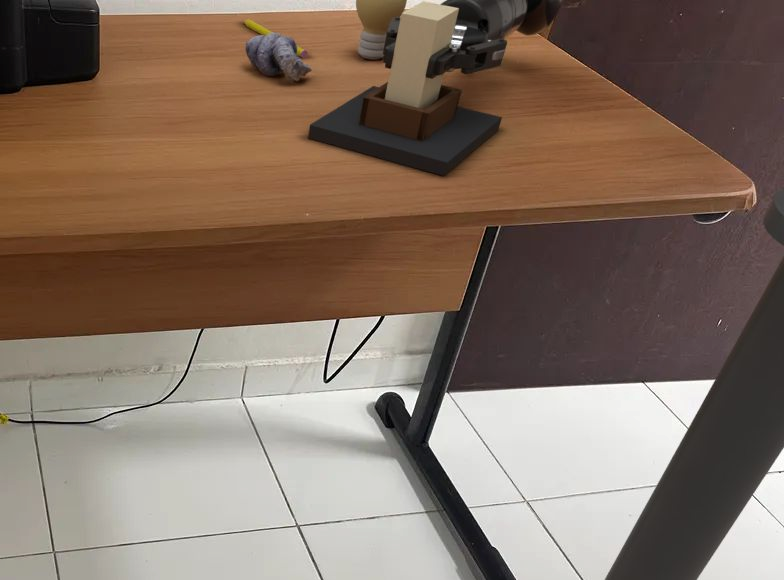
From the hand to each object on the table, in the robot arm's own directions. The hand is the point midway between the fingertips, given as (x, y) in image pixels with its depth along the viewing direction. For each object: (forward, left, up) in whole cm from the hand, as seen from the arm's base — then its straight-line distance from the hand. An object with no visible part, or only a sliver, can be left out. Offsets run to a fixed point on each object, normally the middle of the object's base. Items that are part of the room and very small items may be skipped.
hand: (410, 63), depth 94 cm
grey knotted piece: (+24, 0, -8) cm, 26 cm away
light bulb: (+24, -16, -8) cm, 30 cm away
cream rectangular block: (+1, -2, -6) cm, 7 cm away
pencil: (+36, -8, -9) cm, 38 cm away
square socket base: (+1, -2, -8) cm, 9 cm away
